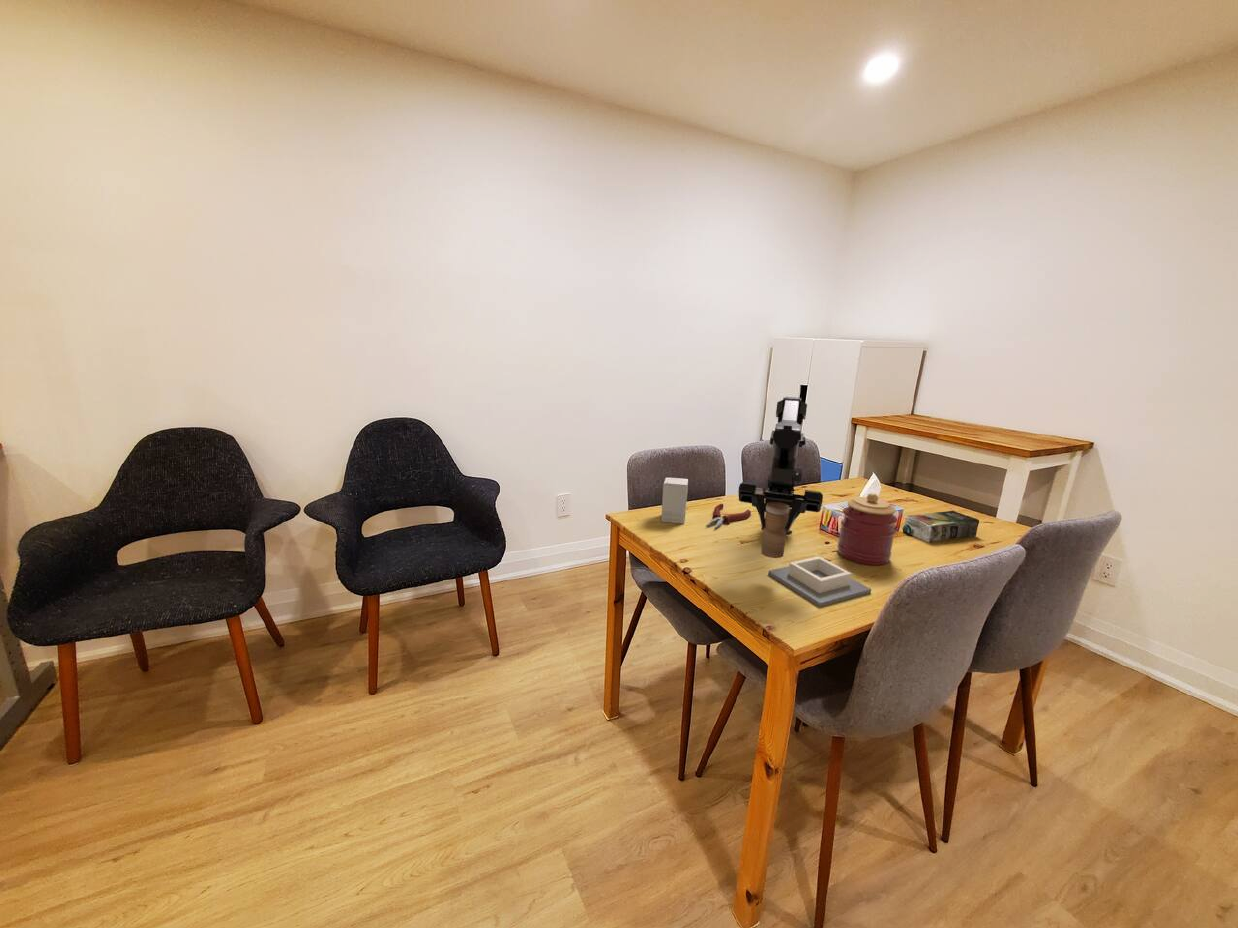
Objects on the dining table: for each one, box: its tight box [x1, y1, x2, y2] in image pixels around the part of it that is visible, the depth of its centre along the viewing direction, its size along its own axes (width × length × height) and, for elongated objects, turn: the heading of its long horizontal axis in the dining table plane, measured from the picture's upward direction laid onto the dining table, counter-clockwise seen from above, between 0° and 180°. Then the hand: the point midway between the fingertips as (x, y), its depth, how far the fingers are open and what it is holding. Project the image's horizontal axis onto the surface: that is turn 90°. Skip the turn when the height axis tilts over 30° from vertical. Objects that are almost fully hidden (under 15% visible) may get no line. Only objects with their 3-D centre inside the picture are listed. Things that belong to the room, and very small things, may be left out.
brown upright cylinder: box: [760, 502, 791, 559], centre depth 112 cm, size 5×5×12 cm
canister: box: [837, 492, 899, 566], centre depth 129 cm, size 13×13×18 cm
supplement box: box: [660, 477, 689, 525], centre depth 152 cm, size 7×7×13 cm
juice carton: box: [902, 509, 980, 543], centre depth 147 cm, size 20×10×6 cm, turn 108°
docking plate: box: [767, 556, 872, 608], centre depth 114 cm, size 16×16×4 cm
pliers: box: [705, 503, 752, 529], centre depth 153 cm, size 12×20×3 cm, turn 145°
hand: (775, 529), depth 111 cm, fingers closed on brown upright cylinder, 5 cm apart
